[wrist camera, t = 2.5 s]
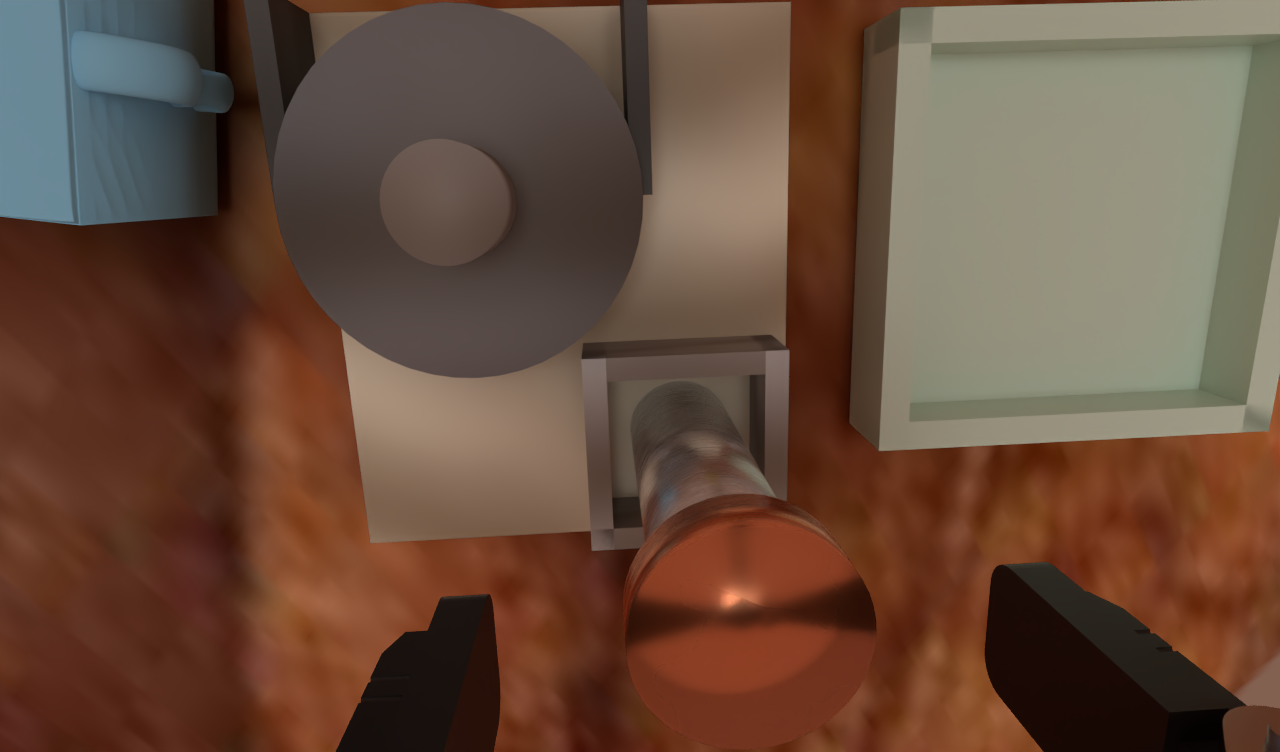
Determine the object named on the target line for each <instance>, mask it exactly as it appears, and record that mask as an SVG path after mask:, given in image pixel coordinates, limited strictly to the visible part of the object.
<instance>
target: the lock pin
mask: <svg viewBox="0 0 1280 752" xmlns="http://www.w3.org/2000/svg"><path fill="white" fill-rule="evenodd" d="M630 433H631V442H632V449H633V457H634V464H635V472H636V479H637V487H638V494H639V502H640V509H641V517H642V524H643V532H644V539H645V542H644V543H643V545H642V546H641V548H640V549H639V551H638V552H637V554H636V556H635V558H634V560H633V562H632V564H631V566H630V569H629V572H628V575H627V578H626V583H625V588H624V598H623V611H624V627H625V644H626V656H627V664H628V668H629V672H630V676H631V679H632V681H633V684H634V686H635V688H636V690H637V693H638V694H639V696H640V697H641V699H642V700H643V702H644V704H645V705H646V706H647V707H648V708H649V710H650V711H651V712H652V713H653V714H654V715H655V716H656V717H657V718H658V719H659V720H660V721H661V722H663V723H664V724H665V725H666V726H668V727H669V728H671V729H672V730H674V731H675V732H677V733H678V734H680V735H682V736H684V737H687V738H689V739H691V740H693V741H696V742H699V743H702V744H705V745H709V746H714V747H718V748H725V749H735V750H739V749H758V748H766V747H771V746H775V745H779V744H783V743H786V742H789V741H792V740H794V739H797V738H799V737H801V736H803V735H806V734H808V733H810V732H812V731H813V730H815V729H816V728H818V727H820V726H821V725H823V724H824V723H826V722H827V721H828V720H830V719H831V718H832V717H833V716H834V715H836V714H837V713H838V712H839V711H840V710H841V709H842V708H843V707H844V706H845V705H846V704H847V703H848V702H849V700H850V699H851V698H852V696H853V695H854V694H855V693H856V691H857V690H858V688H859V687H860V685H861V683H862V681H863V680H864V678H865V676H866V674H867V671H868V669H869V666H870V664H871V661H872V657H873V653H874V650H875V642H876V617H875V612H874V606H873V603H872V600H871V597H870V594H869V592H868V590H867V588H866V586H865V584H864V582H863V580H862V578H861V577H860V575H859V574H858V572H857V571H856V569H855V568H854V566H853V565H852V563H851V562H850V561H849V559H848V558H847V556H846V555H845V553H844V552H843V550H842V549H841V547H840V546H839V544H838V543H837V541H836V540H835V538H834V537H833V536H832V534H831V533H830V531H829V530H828V529H827V528H826V527H825V526H824V525H823V524H822V523H821V522H820V521H819V520H818V519H816V518H815V517H814V516H812V515H811V514H810V513H809V512H807V511H805V510H803V509H802V508H800V507H798V506H797V505H794V504H792V503H789V502H787V501H785V500H782V499H778V498H776V496H775V495H774V493H773V491H772V489H771V488H770V486H769V484H768V482H767V481H766V479H765V477H764V475H763V474H762V472H761V470H760V468H759V467H758V465H757V463H756V461H755V460H754V458H753V456H752V455H751V453H750V451H749V449H748V448H747V446H746V444H745V442H744V441H743V439H742V437H741V435H740V434H739V432H738V430H737V428H736V427H735V425H734V423H733V421H732V420H731V418H730V416H729V414H728V413H727V411H726V409H725V408H724V406H723V404H722V402H721V401H720V400H719V398H718V397H717V396H716V395H715V394H714V393H713V392H711V391H710V390H709V389H707V388H706V387H704V386H702V385H699V384H697V383H693V382H688V381H674V382H669V383H665V384H662V385H660V386H658V387H656V388H654V389H653V390H651V391H650V392H648V393H647V394H646V395H645V396H644V397H643V398H642V399H641V401H640V402H639V403H638V405H637V406H636V408H635V410H634V413H633V416H632V419H631V425H630Z"/></svg>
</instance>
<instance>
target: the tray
mask: <svg viewBox="0 0 1280 752" xmlns="http://www.w3.org/2000/svg"><path fill="white" fill-rule="evenodd" d="M1279 373H1280V0H1196V1H1155V2H1114V3H1073V4H1032V5H990V6H949V7H908V8H899V9H898V10H896V11H894V12H893V13H891V14H889V15H888V16H886V17H884V18H882V19H881V20H879V21H877V22H876V23H874V24H872V25H871V26H869V27H867V28H865V29H864V49H863V75H862V101H861V127H860V153H859V179H858V205H857V231H856V258H855V284H854V310H853V336H852V362H851V388H850V414H849V424H851V425H852V426H853V427H854V428H855V429H856V430H857V431H858V432H859V433H860V434H861V435H862V436H863V437H864V438H865V439H867V440H868V441H869V442H870V443H871V444H872V445H873V446H874V447H875V448H876V449H877V450H878V451H891V450H911V449H930V448H949V447H969V446H988V445H1007V444H1026V443H1046V442H1065V441H1084V440H1103V439H1123V438H1142V437H1161V436H1181V435H1200V434H1219V433H1238V432H1258V431H1269V427H1270V421H1271V416H1272V411H1273V405H1274V400H1275V395H1276V389H1277V384H1278V378H1279Z"/></svg>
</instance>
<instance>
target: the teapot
mask: <svg viewBox="0 0 1280 752" xmlns="http://www.w3.org/2000/svg"><path fill="white" fill-rule="evenodd" d="M233 100H234V88H233V84H232V82H231V79H230V78H229V77H228V76H227V75H225V74H222V73H218V72H215V28H214V0H0V217H9V218H18V219H27V220H36V221H45V222H54V223H64V224H73V225H92V224H106V223H119V222H133V221H146V220H160V219H173V218H187V217H201V216H214V215H218V183H217V136H216V113H225V112H227V111H228V110H229V109H230V107H231V106H232V103H233Z"/></svg>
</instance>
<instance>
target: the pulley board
mask: <svg viewBox="0 0 1280 752" xmlns="http://www.w3.org/2000/svg"><path fill="white" fill-rule="evenodd" d="M244 7H245V13H246V20H247V26H248V33H249V39H250V46H251V52H252V59H253V66H254V72H255V79H256V85H257V92H258V98H259V105H260V112H261V118H262V125H263V131H264V138H265V144H266V151H267V157H268V164H269V171H270V177H271V184H272V190H273V197H274V203H275V209H276V214H277V218H278V223H279V227H280V232H281V235H282V238H283V241H284V244H285V246H286V249H287V252H288V255H289V257H290V259H291V261H292V263H293V265H294V267H295V269H296V271H297V273H298V275H299V277H300V279H301V281H302V282H303V284H304V285H305V287H306V288H307V290H308V291H309V293H310V294H311V296H312V297H313V299H314V300H315V301H316V302H317V303H318V305H319V306H320V307H321V308H322V309H323V310H324V312H325V313H326V314H327V315H328V316H329V317H330V318H331V319H332V320H333V321H334V322H335V323H336V324H337V325H338V326H339V327H340V328H341V330H342V337H343V344H344V352H345V359H346V366H347V374H348V381H349V388H350V396H351V403H352V411H353V418H354V425H355V433H356V440H357V447H358V455H359V462H360V469H361V477H362V484H363V491H364V499H365V506H366V513H367V521H368V528H369V535H370V543H384V542H402V541H420V540H438V539H456V538H474V537H492V536H510V535H527V534H545V533H563V532H581V531H591V545H592V551H599V550H617V549H634V548H641V546H642V545H643V543H644V542H645V539H644V532H643V524H642V517H641V509H640V502H639V494H638V487H637V479H636V472H635V464H634V457H633V449H632V442H631V433H630V425H631V419H632V416H633V413H634V410H635V408H636V406H637V405H638V403H639V402H640V401H641V399H642V398H643V397H644V396H645V395H646V394H647V393H648V392H650V391H651V390H653V389H654V388H656V387H658V386H660V385H662V384H665V383H669V382H674V381H688V382H693V383H697V384H699V385H702V386H704V387H706V388H707V389H709V390H710V391H711V392H713V393H714V394H715V395H716V396H717V397H718V398H719V400H720V401H721V402H722V404H723V406H724V408H725V409H726V411H727V413H728V414H729V416H730V418H731V420H732V421H733V423H734V425H735V427H736V428H737V430H738V432H739V434H740V435H741V437H742V439H743V441H744V442H745V444H746V446H747V448H748V449H749V451H750V453H751V455H752V456H753V458H754V460H755V461H756V463H757V465H758V467H759V468H760V470H761V472H762V474H763V475H764V477H765V479H766V481H767V482H768V484H769V486H770V488H771V489H772V491H773V493H774V495H775V496H776V498H778V499H782V500H785V501H787V468H788V409H789V349H788V348H786V347H785V345H786V281H787V216H788V152H789V87H790V23H791V2H761V3H719V4H677V5H647V0H620V6H593V7H551V8H509V9H495V8H490V7H484V6H479V5H474V4H467V3H446V2H442V3H431V4H421V5H415V6H411V7H407V8H402V9H398V10H394V11H382V12H340V13H308V12H306V11H304V10H303V9H301V8H299V7H298V6H296V5H294V4H293V3H291V2H289V1H288V0H244Z"/></svg>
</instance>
